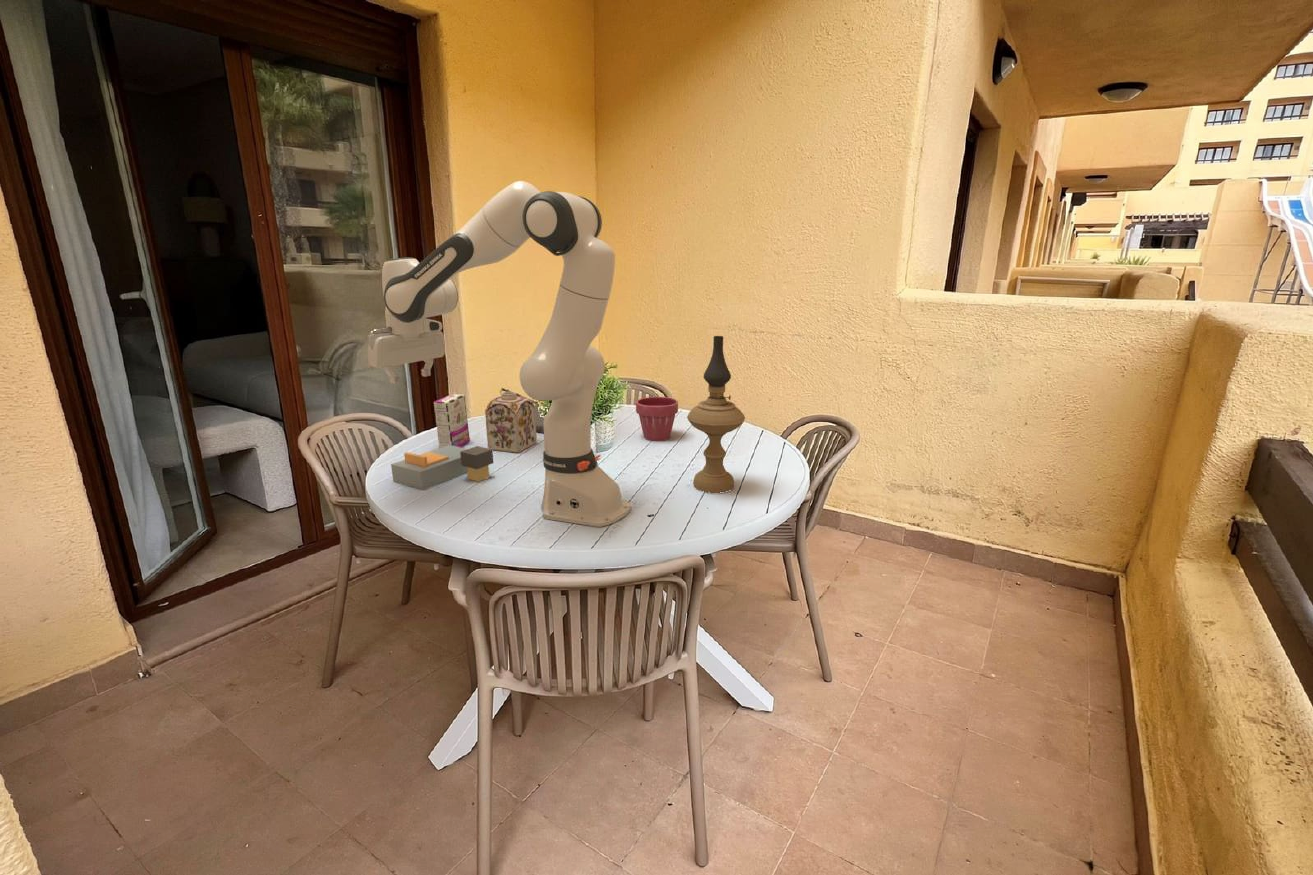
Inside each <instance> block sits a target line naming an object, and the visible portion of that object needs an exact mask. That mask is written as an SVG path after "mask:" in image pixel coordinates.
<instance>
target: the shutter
mask: <svg viewBox="0 0 1313 875" xmlns="http://www.w3.org/2000/svg"><path fill="white" fill-rule="evenodd" d="M427 452H428V453H427ZM427 452H424V453H425V454H424V453H422V455H421V454H417V453H412V452H408V451H406V452H404V453H403V454H404V460H405V462H407V463H411V464H415V465H418V466H422V467H427V466H429V465H432V464H435V463H438V462H441V461H444V460H447V459H449V457H447V456H443V455H439V454H435V453H431V452H430V451H427Z"/></svg>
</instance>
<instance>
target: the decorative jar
mask: <svg viewBox="0 0 1313 875" xmlns="http://www.w3.org/2000/svg"><path fill="white" fill-rule="evenodd" d="M500 393H501V394H500V396H496V397H494V398H491V399H490V400H489V402H488V404H487V406H486V408H485V409H484V411H485V412H484V415H485V428H486V430H485V431H486V438H487V439H486V440H487V448H488V449H492V451H496V452H498V451H499V452H507V453H514V454H519V453H521V452H523V451H525V450H527V449H529V448H531V447H532V446H533V445H536V444H537V442H538V440H537V431H536V420H535V404H534V403H532V402H531V401H530V400H529V399H530V398H528V397H526V396H524V395H521V396H517V394H518V393H517V392H516V391H512V392H505V391H502V392H500ZM516 393H517V394H516ZM527 398H528V399H527Z"/></svg>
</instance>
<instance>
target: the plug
mask: <svg viewBox="0 0 1313 875" xmlns="http://www.w3.org/2000/svg"><path fill="white" fill-rule="evenodd" d="M466 449H467V450H464V451H461V452H460V455H461V465H462V466H465V467H467V471H468V472H467V479H468V480H471V481H476V482H480V481H483V480H486V479H487V478H490V469H489V466H490V465H492V464H494V455H493V452H494V451H493V450H492V449H488V447H483V446H478V445H476V446H473V447H471V448H466Z"/></svg>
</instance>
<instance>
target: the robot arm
mask: <svg viewBox="0 0 1313 875" xmlns="http://www.w3.org/2000/svg"><path fill="white" fill-rule="evenodd" d="M602 225H603V220H602V214H601V212H600V210H599V208H598V207H597V206H596V204H595V203H593V202H592V201H591V200H590V199H588V198H586V197H584V196H580V195H575V194H573V193H571V192H566V191H553V190H546V191H540V190H539V189H538V188H537V187H536V186H534V185H533V184H531V183H530V182H527V181H525V180H517V181H514V182H512V183H511V184H509V185H508V186H506V187H504V188H503V189H502V190H500V191H498V192H497V194H495V195H494V196H492V197H491V199H489V200H488V201H487V202H486V203H485V204H484V205H483V206H482V207H481V208H480V210H478V211H477V212H476V213H475V215H473V217H471V218H470V219H469V220H468V221H467V222H466V223H465V224H464V225H463V226H461V227H460V228H459V229H458V230H457V231H456V232H455V233H453V234H452V235H451V236H450V237H448V239H446V240H445V241H443V242H442V243H441V244H440V245H439V246H438V247H436V248H435V249H434V250H433V251H432V252H431V253H429V254H428V255H427V256H426V257H425V258H423V259H422V260H421V261H420V262H419V260H417V258H414V257H412V256H411V257H409V256H408V257H407V256H406V257H396V258H390V259H387V260H386V261H384V263H383V266H382V272H381V280H382V281H381V283H382V295H383V301H384V304H385V310H384V314H385V316H384V317H385V323H386V324H385V325H386V327H382V328H375V329H372V331H370V332H369V334H368V335H367V344H368V345H367V346H368V348H367V353H368V354H367V360H368V362H367V363H368V364H369V365H370V366H371V367H373V368H374V369H383V371H384V372H385V373H386V375H387V376H388V380H389V383H390V384H394V385H395V384H397V383H400V380H399V379H400V378H399V375H396V374H395V372H393V371H395V366H396V367H397V366H401V365H407V364H411V363H416V362H421V361H422V362H424V363H425V364H424V366H423V368H421V369H420V371H421V376H422V377H430V376H431V369H432V367H433V364H434V359H438V358H443V357H444V356H445V354H446V341H445V336H444V333H443V332H442V330H443V323H442V322H441V321H438V320H434V319H430V318H432V317H436V316H441V315H446V314H449V313H451V312H453V310H455V309H456V307H457V305H458V302H459V292H458V289H457V286H456V285H455V283H454V282H453V280H452V278H453V277H454V276H456V275H457V274H459V273H462V272H464V271H466V270H469V269H473V268H477V267H482V266H486V265H492V264H497V263H499V262H501V261H504V260H505V259H506V258H508V257H509V256H511V255H513V254H514V253H515V252H517V251H518V250H519V249H520V247H522V246H523V245H524V244H525V243H526V242H527V241H528V240H529V239H532V240H533V241H534V242H536V243H537V244H538V245H540V246H542V247H544V249H546V250H547V251H549V253H551V254H552V255H553V256H556V257H559V256H561V257H562V259H563V260H562V261H563V268H562V273H561V277H560V282H559V285H558V290H557V293H556V298H555V302H554V306H553V309H552V314H551V317H550V319H549V322H548V325H547V327H546V329H545V331H544V332H543V335H542V336H541V338H540V340H539V342H538V343H537V345H536V347H535V350H534V351H533V352H532V353H531V355H530V356H529V357H528V358H527V359H526V360H525V361H524V362H523V364H522V365H521V367H520V369H519V370H520V371H519V382H520V386H521V388H522V390H523V391H524V393H525V394H526V395H527V396H528V397H530V399H531V400H534V401H537V400H539V401H548V400H552V403H551V406H550V408H549V411H548V412H547V414H546V416H545V418H544V422H543V428H544V432H543V440H544V441H543V442H544V450H543V452H542V455H543V456H542V457H543V459H542V462H543V467H544V468H545V475H544V488H543V490H544V491H543V496H542V501H541V504H540V508H541V510H542V511H543V512H542V517H543V519H546V520H554V521H560V522H566V523H571V524H577V525H578V524H579V525H584V526H590V527H596V528H600V527H604V526H608V525H611V524H614V523H616V522H618V521H619V520H621V519H622V518H624V517H625V516H627V515H628V514H629V513H630V511H631V510H632V503H631V502H628V501H626V500H624V499H622V492H621V489H620V486H619V484H618V483H617V482H616V481H615V480H614V479H612V477H610V476H609V475H608V474H607V473H606V472H605V471H604V470H603V469H602V468H601V467H600V466H599V464H598V461H599V460H601V459H602V458H601V454H599V455H596V456H595V453H594V451H593V449H592V442H591V441H592V438H591V437H592V436H591V435H592V433H591V431H592V430H591V427H592V426H591V422H592V418H591V417H592V412H593V407H594V401H595V397H596V393H597V389H598V385H599V383H600V381H601V379H602V377H603V375H604V372H605V367H606V365H605V359H604V356H603V355H602V353H601V352H600V351H599V350H598V349H597V348H596V347H594V346H591V345H592V344H591V343H592V342H593V341H594V339H595V338H596V337H597V336H598V334H599V333H601V332H600V331H601V329H602V326H603V322H604V318H605V315H606V311H607V308H608V307H607V306H608V303H609V300H610V297H611V293H612V292H611V291H612V287H613V282H614V276H615V265H616V254H615V251H614V250H613V248H612V247H611V246H610V244H608V243H607V242H606V241H604V240H602V239H599V238H598V237H599V235H600V233H601V231H602V227H603V226H602Z"/></svg>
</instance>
